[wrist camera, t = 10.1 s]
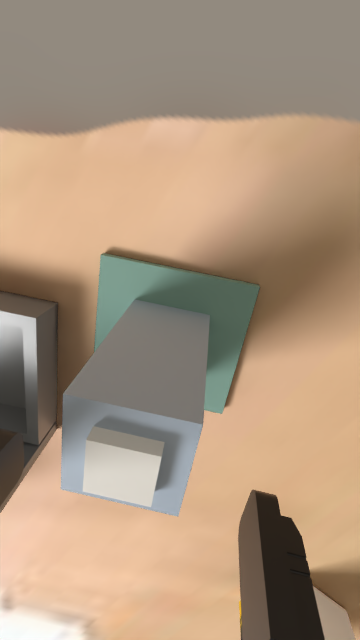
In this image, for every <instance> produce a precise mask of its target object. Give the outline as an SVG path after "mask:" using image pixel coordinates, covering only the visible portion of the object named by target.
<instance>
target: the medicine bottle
mask: <svg viewBox="0 0 360 640" xmlns="http://www.w3.org/2000/svg"><path fill="white" fill-rule="evenodd" d="M313 589H314V593H315V598H316V602H317V607H318V611H319V616H320V620H321V625H322V629H323V633H324V638H325V640H356V639H355V636H354V633H353V629H352V626H351V623H350V620H349V616H348V613H347V611H346V610H345V609H344V608H343V607H341V606H340V605H338V604H337V603H336V602H334V601H333V600H332V599H330V598H329V597H328V596H326V595H325V594H323V593H322V592H321V591H319V590H318V589H317V588H315V587H314V586H313ZM239 610H240V629H241V640H242V618H241V598H240V599H239Z"/></svg>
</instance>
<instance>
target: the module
mask: <svg viewBox="0 0 360 640" xmlns="http://www.w3.org/2000/svg"><path fill="white" fill-rule="evenodd" d="M209 322H210V315H207V314H203V313H198V312H193V311H188V310H183V309H179V308H174V307H169V306H164V305H159V304H155V303H150V302H145V301H140V300H136V299H134V301H133V302H132V303H131V305H130V306H129V307H128V309H127V310H126V311H125V313H124V314H123V315H122V316H121V318H120V319H119V320H118V322H117V323H116V324H115V326H114V327H113V328H112V330H111V331H110V332H109V334H108V335H107V336H106V338H105V339H104V340H103V342H102V343H101V344H100V346H99V347H98V348H97V349H96V351H95V352H94V353H93V355H92V356H91V357H90V359H89V360H88V361H87V363H86V364H85V365H84V367H83V368H82V369H81V371H80V372H79V373H78V375H77V376H76V377H75V378H74V380H73V381H72V382H71V384H70V385H69V386H68V388H67V389H66V390H65V392H64V393H63V415H62V461H61V489H62V490H66V491H70V492H75V493H79V494H83V495H88V496H92V497H96V498H100V499H105V500H109V501H113V502H118V503H122V504H126V505H131V506H135V507H139V508H144V509H148V510H152V511H156V512H161V513H165V514H169V515H174V516H178V515H179V511H180V508H181V504H182V500H183V497H184V493H185V489H186V486H187V482H188V478H189V475H190V471H191V467H192V464H193V460H194V456H195V453H196V449H197V445H198V441H199V438H200V434H201V430H202V427H203V418H204V402H205V386H206V370H207V354H208V338H209Z"/></svg>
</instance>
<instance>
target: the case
mask: <svg viewBox="0 0 360 640" xmlns="http://www.w3.org/2000/svg"><path fill="white" fill-rule="evenodd" d="M57 329H58V303H56V302H51V301H47V300H42V299H37V298H32V297H28V296H23V295H18V294H14V293H9V292H4V291H0V428H2V429H6V430H10V431H15V432H19V433H21V434H22V435H23V448H24V469H23V472H22V475H21V477H20V479H19V481H18V483H17V484H16V485H15V487H14V488H13V490H12V491H11V492H10V494H9V495H8V497H7V498H6V499H5V501H4V502H3V504H2V505H1V506H0V513H1V511H2V510H3V508H4V507H5V505H6V504H7V502H8V501H9V499H10V498H11V496H12V495H13V493H14V492H15V491H16V489H17V488H18V486H19V485H20V483H21V482H22V480H23V479H24V477H25V476H26V474H27V473H28V471H29V470H30V468H31V467H32V465H33V464H34V462H35V461H36V459H37V458H38V456H39V455H40V453H41V452H42V450H43V449H44V447H45V446H46V444H47V443H48V441H49V440H50V438H51V437H52V435H53V434H54V432H55V431H56V422H55V421H56V417H57Z"/></svg>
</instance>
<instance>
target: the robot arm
mask: <svg viewBox="0 0 360 640" xmlns="http://www.w3.org/2000/svg"><path fill="white" fill-rule="evenodd" d="M23 469H24V448H23V435H22V434H21V433H19V432H15V431H10V430H6V429H2V428H0V506H1V505H2V504H3V502H4V501H5V499H6V498H7V497H8V495H9V494H10V492H11V491H12V490H13V488H14V487H15V485H16V484H17V483H18V481H19V479H20V477H21V475H22V472H23ZM238 542H239V567H240V593H241V618H242V640H325V638H324V633H323V629H322V625H321V620H320V616H319V611H318V607H317V602H316V598H315V593H314V589H313V585H312V580H311V578H310V571H309V567H308V562H307V561H306V553H305V549H304V545H303V540H302V536H301V535H300V533H299V531H298V529H297V527H296V526H295V524H294V522H293V520H292V518H289V517H285V516H281V515H280V510H279V504H278V499H277V497H276V495H273V494H269V493H265V492H261V491H256V490H252V491H251V493H250V496H249V498H248V501H247V504H246V506H245V509H244V512H243V514H242V517H241V520H240V525H239V535H238Z"/></svg>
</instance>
